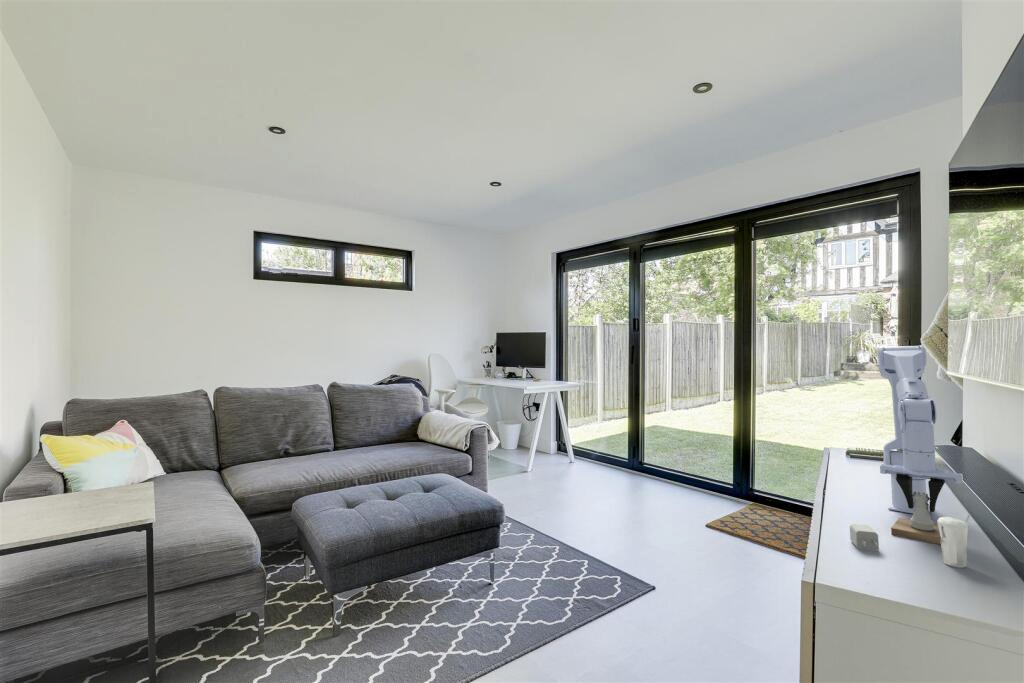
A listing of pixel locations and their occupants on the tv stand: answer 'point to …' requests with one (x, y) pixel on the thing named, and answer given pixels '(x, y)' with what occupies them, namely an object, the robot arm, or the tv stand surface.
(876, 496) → the tv stand surface
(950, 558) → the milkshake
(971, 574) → the tv stand surface
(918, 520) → the rook chess piece
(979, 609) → the tv stand surface
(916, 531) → the walnut plinth
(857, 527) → the usb wall charger
